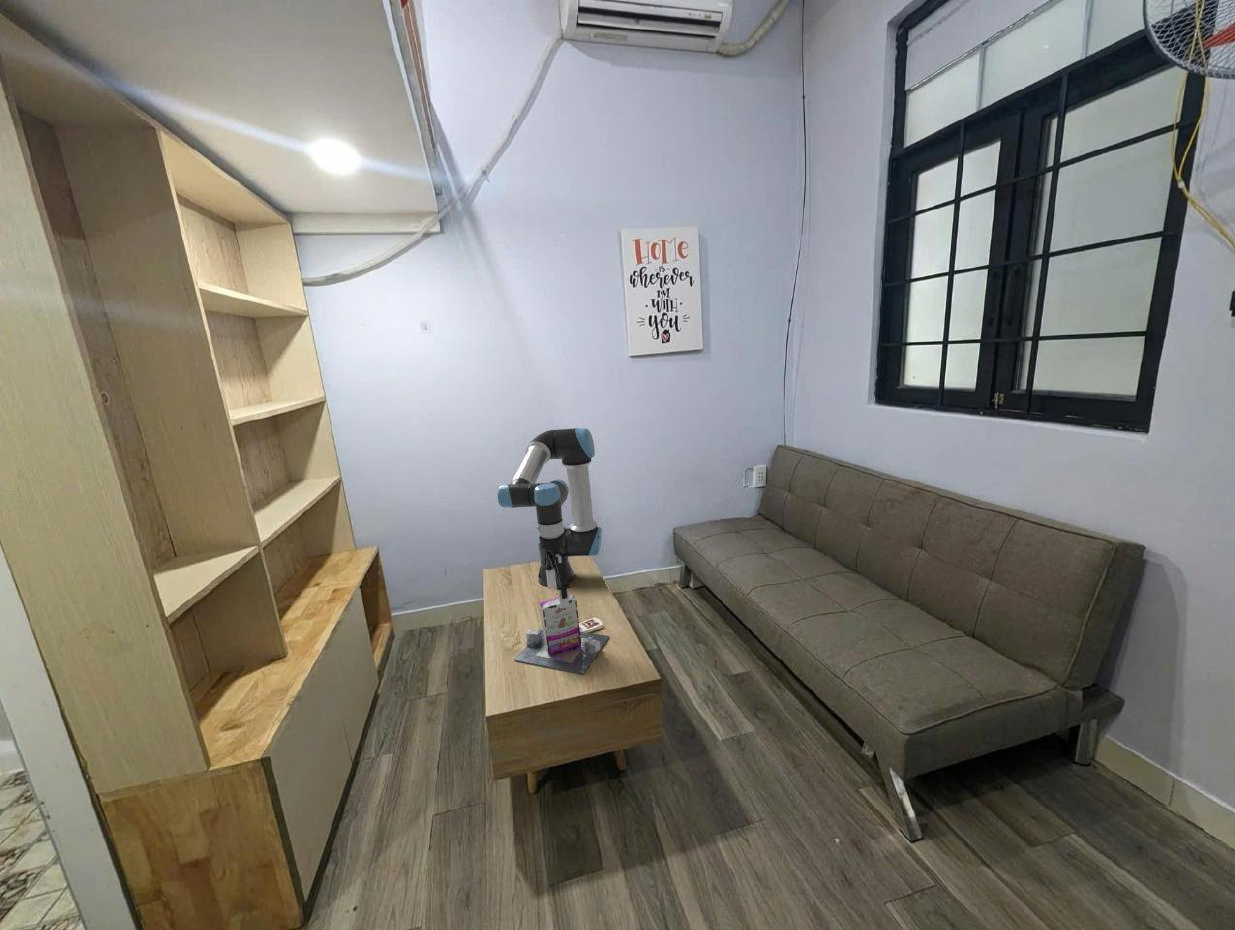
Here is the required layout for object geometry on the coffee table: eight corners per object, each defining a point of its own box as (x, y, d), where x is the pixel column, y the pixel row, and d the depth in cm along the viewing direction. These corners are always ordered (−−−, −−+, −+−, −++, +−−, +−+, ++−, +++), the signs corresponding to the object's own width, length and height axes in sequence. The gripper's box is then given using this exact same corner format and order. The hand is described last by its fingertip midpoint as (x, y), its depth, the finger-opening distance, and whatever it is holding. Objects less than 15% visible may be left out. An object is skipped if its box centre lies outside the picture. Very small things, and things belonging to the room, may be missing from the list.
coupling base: (511, 660, 151) (509, 646, 150) (543, 626, 169) (542, 614, 168) (586, 675, 142) (585, 661, 141) (612, 637, 160) (611, 625, 159)
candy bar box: (576, 638, 160) (572, 592, 156) (581, 645, 155) (577, 599, 152) (544, 647, 156) (538, 601, 152) (548, 656, 151) (542, 608, 148)
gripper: (529, 524, 157) (536, 583, 162) (550, 551, 134) (558, 619, 139) (552, 520, 160) (558, 578, 165) (576, 545, 137) (582, 612, 142)
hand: (558, 597), depth 152 cm, fingers open, 13 cm apart
